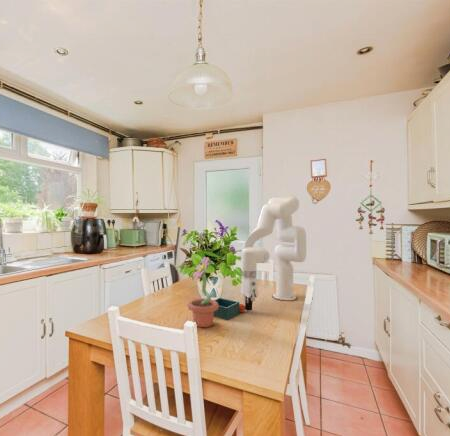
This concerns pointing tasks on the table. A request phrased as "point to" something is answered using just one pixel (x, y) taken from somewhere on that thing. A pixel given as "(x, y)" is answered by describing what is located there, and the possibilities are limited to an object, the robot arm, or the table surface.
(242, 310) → the ball
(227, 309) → the box
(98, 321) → the table surface
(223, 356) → the table surface
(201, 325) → the decorative flower
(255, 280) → the robot arm
